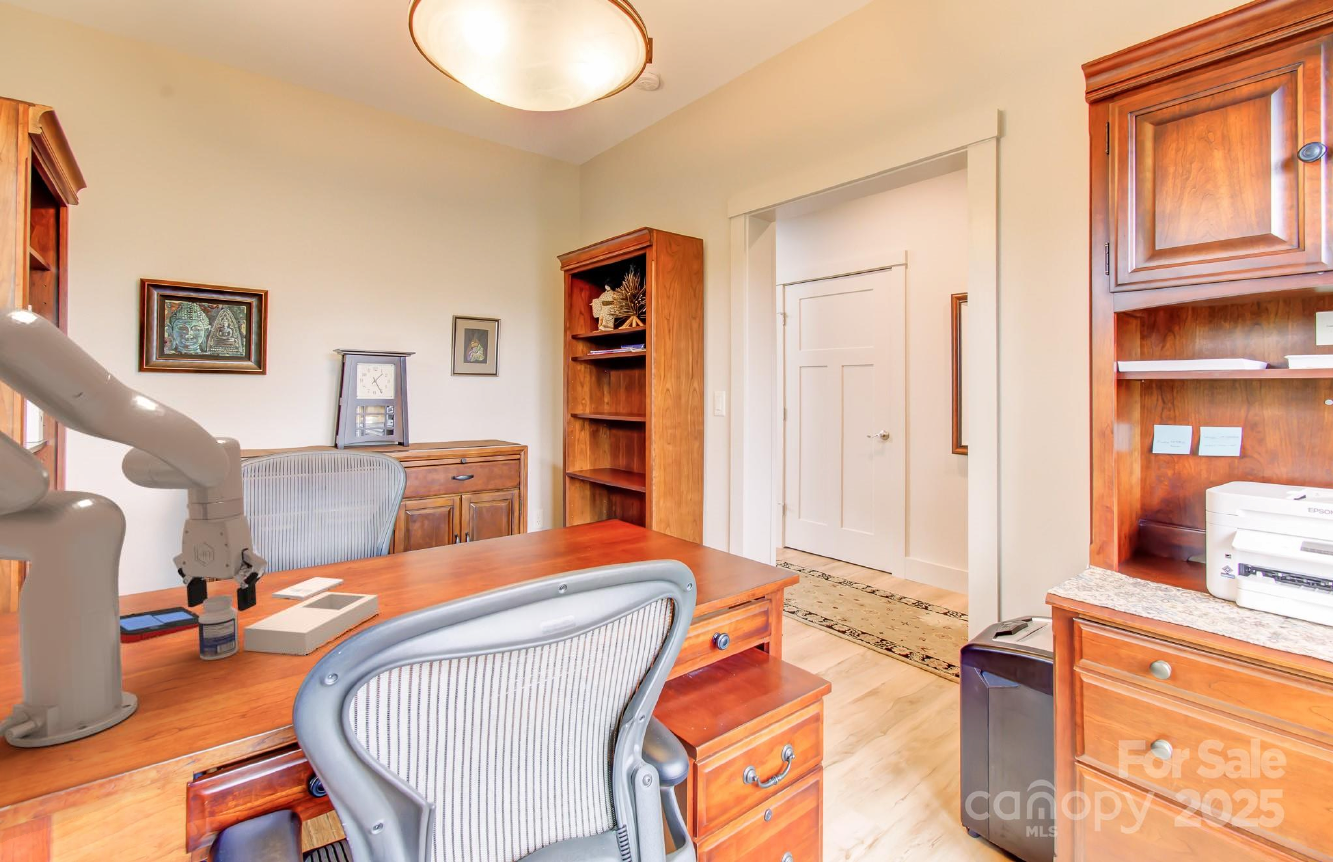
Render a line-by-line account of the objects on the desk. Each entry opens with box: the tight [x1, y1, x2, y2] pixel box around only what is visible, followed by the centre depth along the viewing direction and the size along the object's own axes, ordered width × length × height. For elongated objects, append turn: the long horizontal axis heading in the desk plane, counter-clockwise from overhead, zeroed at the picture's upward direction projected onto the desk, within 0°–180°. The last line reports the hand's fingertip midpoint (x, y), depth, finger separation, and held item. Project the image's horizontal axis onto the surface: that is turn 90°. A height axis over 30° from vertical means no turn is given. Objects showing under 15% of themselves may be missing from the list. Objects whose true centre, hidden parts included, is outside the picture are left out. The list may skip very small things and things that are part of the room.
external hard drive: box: [270, 576, 345, 601], centre depth 137 cm, size 2×8×12 cm
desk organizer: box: [243, 591, 379, 656], centre depth 113 cm, size 20×12×4 cm, turn 172°
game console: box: [120, 606, 200, 644], centre depth 115 cm, size 14×13×2 cm
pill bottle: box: [198, 594, 239, 661], centre depth 102 cm, size 5×5×10 cm
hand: (222, 606), depth 103 cm, fingers open, 9 cm apart
